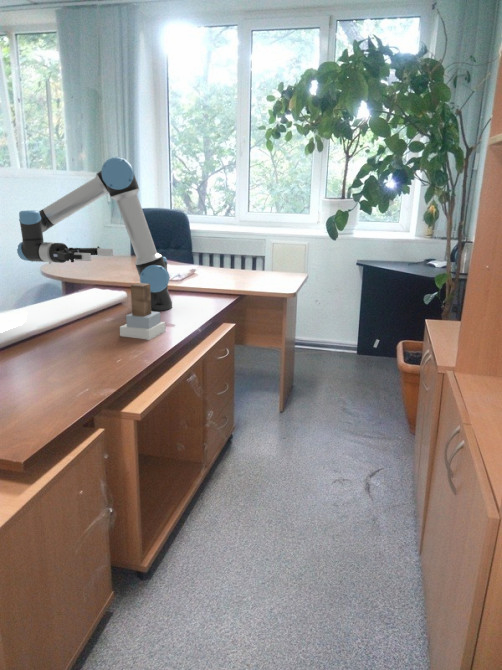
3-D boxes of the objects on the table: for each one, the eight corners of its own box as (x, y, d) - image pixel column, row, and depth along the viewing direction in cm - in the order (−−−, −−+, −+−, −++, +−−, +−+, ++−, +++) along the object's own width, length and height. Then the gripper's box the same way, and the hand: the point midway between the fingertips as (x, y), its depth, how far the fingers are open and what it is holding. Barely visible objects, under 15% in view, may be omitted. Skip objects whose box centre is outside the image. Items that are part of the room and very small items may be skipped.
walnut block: (139, 312, 178) (138, 282, 175) (151, 313, 176) (150, 283, 173) (132, 315, 173) (130, 285, 170) (144, 316, 172) (142, 286, 169)
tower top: (139, 320, 182) (138, 310, 181) (160, 322, 179) (160, 312, 178) (126, 326, 174) (126, 315, 172) (149, 328, 171) (148, 318, 170)
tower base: (137, 328, 185) (137, 318, 184) (165, 332, 181) (165, 322, 180) (120, 337, 174) (119, 326, 173) (149, 341, 170) (148, 330, 169)
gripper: (76, 258, 197) (121, 260, 190) (32, 267, 174) (81, 269, 168) (74, 239, 195) (119, 241, 188) (29, 246, 172) (78, 248, 166)
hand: (101, 254), depth 178 cm, fingers open, 13 cm apart
